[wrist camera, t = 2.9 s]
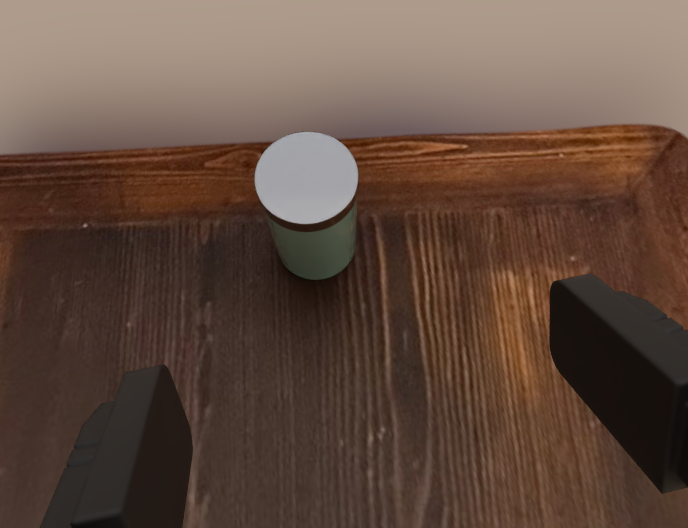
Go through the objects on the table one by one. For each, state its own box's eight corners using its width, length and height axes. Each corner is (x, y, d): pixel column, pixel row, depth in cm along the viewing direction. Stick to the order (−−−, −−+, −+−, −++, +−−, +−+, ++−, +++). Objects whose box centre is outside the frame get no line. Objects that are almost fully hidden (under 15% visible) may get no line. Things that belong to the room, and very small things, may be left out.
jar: (305, 192, 37) (292, 114, 29) (371, 231, 36) (378, 162, 28) (260, 254, 36) (232, 191, 27) (327, 295, 35) (321, 244, 26)
